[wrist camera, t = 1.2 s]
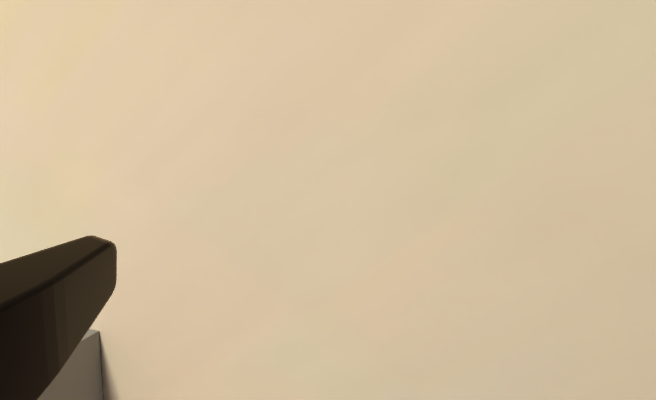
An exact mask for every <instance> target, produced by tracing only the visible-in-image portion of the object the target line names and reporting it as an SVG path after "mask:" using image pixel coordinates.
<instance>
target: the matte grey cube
mask: <svg viewBox="0 0 656 400" xmlns="http://www.w3.org/2000/svg"><path fill="white" fill-rule="evenodd" d="M37 400H103V387H102V373H101V358H100V344H99V331H95V330H88V331H87V333H86V334H85V336H84V337H83V339H82V340H81V342H80V343H79V345H78V346H77V348H76V349H75V351H74V352H73V354H72V355H71V357H70V358H69V360H68V361H67V362H66V364H65V365H64V367H63V368H62V369H61V371H60V372H59V374H58V375H57V376H56V377H55V379H54V380H53V381H52V382H51V384H50V385H49V386H48V387H47V389H46V390H45V391H44V392H43V393H42V395H41V396H40V397H39V398H38V399H37Z"/></svg>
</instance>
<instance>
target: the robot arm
mask: <svg viewBox="0 0 656 400" xmlns="http://www.w3.org/2000/svg"><path fill="white" fill-rule="evenodd" d="M116 271H117V250H116V246H115V244H114V243H112V242H111V241H108V240H105V239H102V238H99V237H96V236H86V237H82V238H79V239H76V240H73V241H70V242H67V243H63V244H60V245H57V246H54V247H51V248H48V249H44V250H41V251H38V252H35V253H32V254H29V255H25V256H22V257H19V258H16V259H13V260H10V261H6V262H3V263H0V400H37V399H38V398H39V397H40V396H41V395H42V393H43V392H44V391H45V390H46V389H47V387H48V386H49V385H50V384H51V382H52V381H53V380H54V379H55V377H56V376H57V375H58V374H59V372H60V371H61V369H62V368H63V367H64V365H65V364H66V362H67V361H68V360H69V358H70V357H71V355H72V354H73V352H74V351H75V349H76V348H77V346H78V345H79V343H80V342H81V340H82V339H83V337H84V336H85V334H86V333H87V331H88V330H89V328H90V327H91V325H92V324H93V322H94V321H95V319H96V318H97V316H98V315H99V313H100V312H101V310H102V309H103V307H104V306H105V304H106V303H107V301H108V300H109V298H110V297H111V295H112V293H113V291H114V288H115V285H116Z"/></svg>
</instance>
